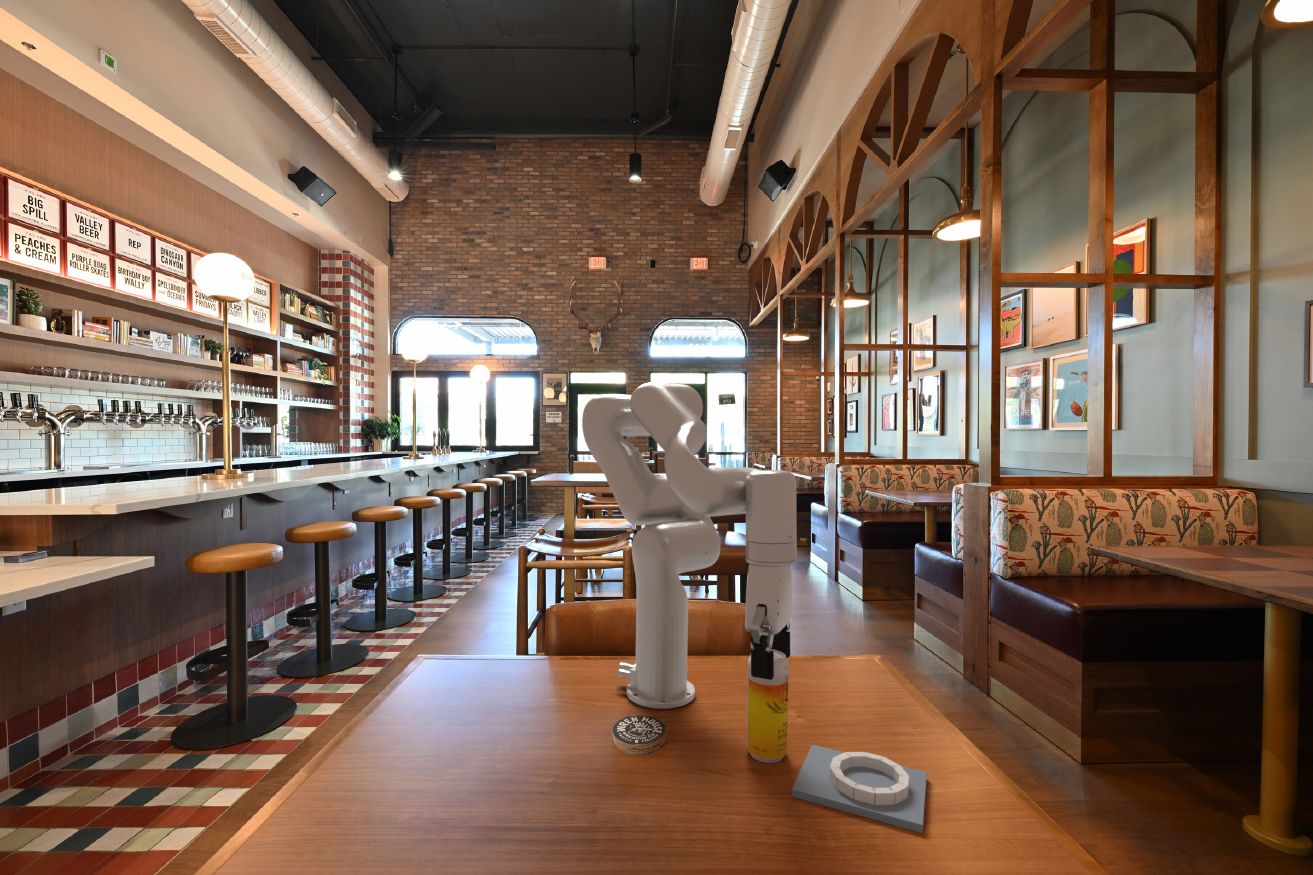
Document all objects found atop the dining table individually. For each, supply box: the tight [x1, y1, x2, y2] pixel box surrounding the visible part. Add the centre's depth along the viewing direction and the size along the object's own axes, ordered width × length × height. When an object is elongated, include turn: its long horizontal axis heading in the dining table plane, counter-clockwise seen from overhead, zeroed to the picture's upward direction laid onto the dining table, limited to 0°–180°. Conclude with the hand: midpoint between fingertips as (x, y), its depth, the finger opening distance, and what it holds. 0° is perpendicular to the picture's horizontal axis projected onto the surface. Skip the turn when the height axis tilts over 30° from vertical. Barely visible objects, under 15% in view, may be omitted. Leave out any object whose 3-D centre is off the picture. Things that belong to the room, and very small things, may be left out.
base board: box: [791, 744, 928, 834], centre depth 83 cm, size 16×13×2 cm
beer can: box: [745, 649, 790, 764], centre depth 91 cm, size 6×6×15 cm
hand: (771, 666), depth 91 cm, fingers open, 9 cm apart
